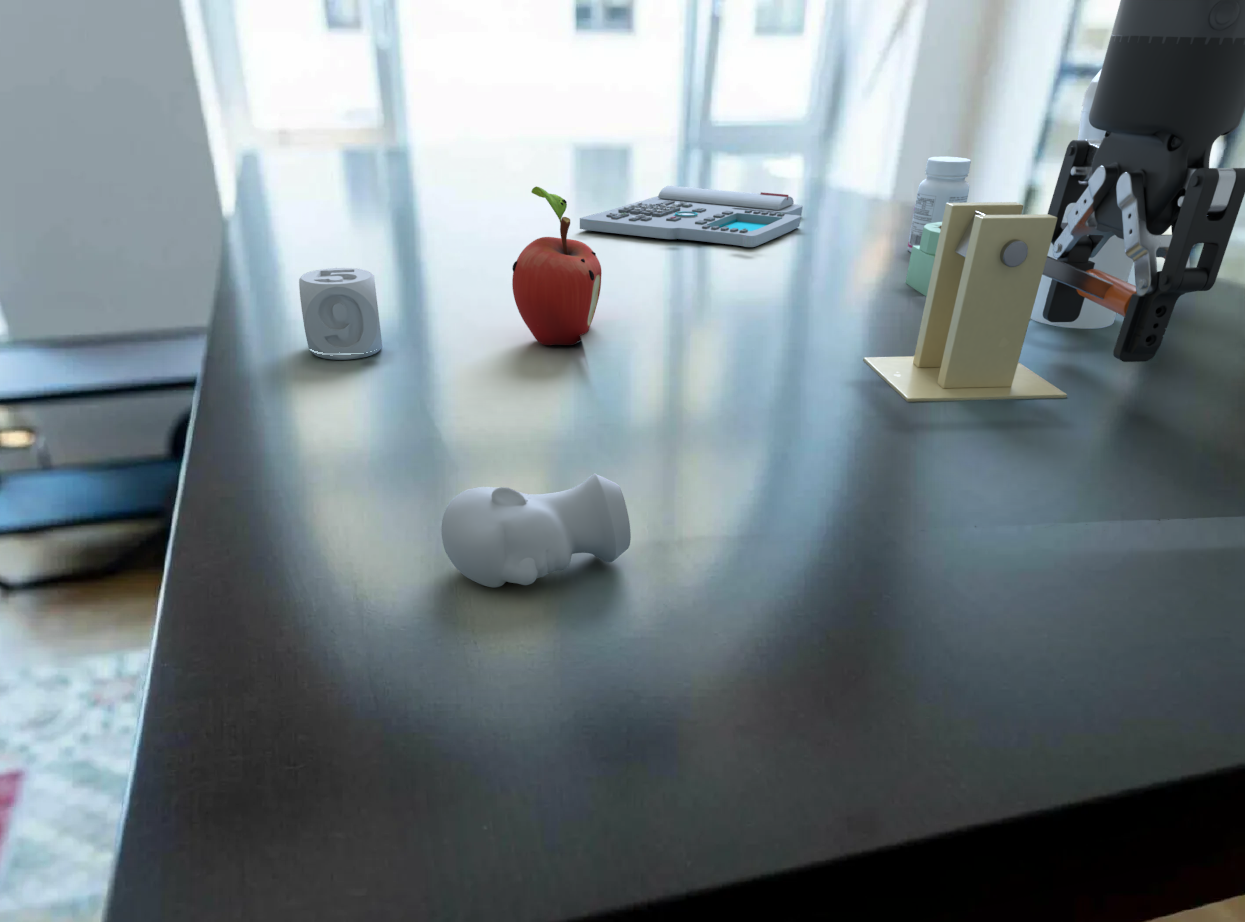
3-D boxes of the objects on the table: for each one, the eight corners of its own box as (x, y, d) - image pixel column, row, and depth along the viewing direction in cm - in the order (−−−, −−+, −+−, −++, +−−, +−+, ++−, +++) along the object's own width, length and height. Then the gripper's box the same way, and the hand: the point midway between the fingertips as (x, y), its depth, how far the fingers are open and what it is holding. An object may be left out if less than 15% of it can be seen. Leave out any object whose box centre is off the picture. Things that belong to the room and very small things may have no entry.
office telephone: (672, 179, 117) (826, 193, 109) (670, 202, 118) (823, 217, 110) (578, 204, 100) (753, 223, 92) (578, 231, 102) (750, 251, 93)
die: (381, 337, 69) (372, 266, 66) (383, 358, 65) (374, 282, 62) (311, 341, 68) (300, 268, 65) (309, 362, 64) (297, 286, 61)
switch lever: (1087, 305, 60) (1111, 268, 59) (1136, 329, 56) (1162, 289, 54) (942, 245, 57) (963, 205, 56) (981, 266, 53) (1005, 222, 51)
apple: (625, 343, 68) (629, 192, 62) (558, 363, 64) (556, 204, 58) (553, 321, 73) (551, 179, 67) (486, 339, 69) (477, 189, 63)
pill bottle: (953, 248, 96) (973, 156, 91) (957, 258, 92) (978, 163, 87) (905, 246, 97) (922, 154, 92) (907, 255, 93) (925, 161, 88)
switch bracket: (1002, 371, 63) (1048, 197, 57) (1061, 413, 57) (1121, 221, 51) (860, 375, 63) (891, 198, 56) (903, 417, 56) (944, 223, 50)
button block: (998, 280, 85) (1012, 221, 82) (1038, 302, 79) (1055, 238, 76) (902, 282, 84) (913, 221, 81) (935, 303, 78) (948, 239, 75)
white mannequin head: (444, 619, 40) (449, 533, 43) (632, 611, 40) (623, 526, 43) (431, 548, 36) (437, 460, 39) (637, 540, 36) (627, 454, 39)
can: (1075, 347, 68) (1131, 163, 61) (1001, 325, 73) (1046, 152, 66) (1127, 334, 71) (1186, 157, 64) (1053, 314, 76) (1101, 146, 69)
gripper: (1359, 32, 44) (1222, 374, 53) (1176, 26, 55) (1089, 308, 65) (1209, 31, 43) (1097, 377, 53) (1055, 25, 55) (985, 310, 64)
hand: (1093, 339), depth 59 cm, fingers open, 8 cm apart
